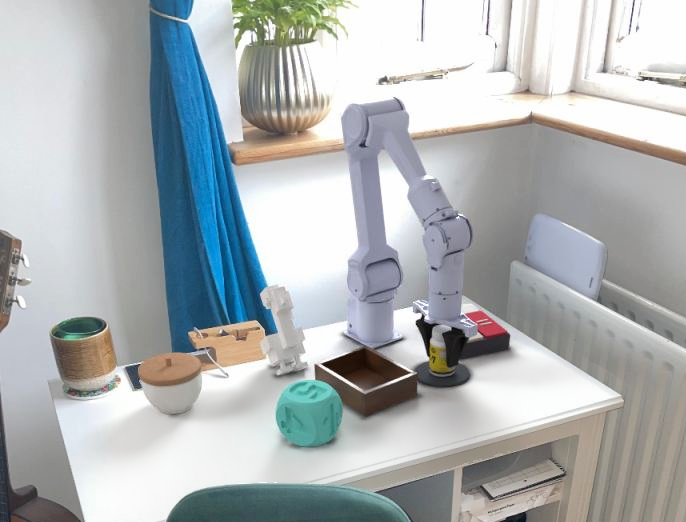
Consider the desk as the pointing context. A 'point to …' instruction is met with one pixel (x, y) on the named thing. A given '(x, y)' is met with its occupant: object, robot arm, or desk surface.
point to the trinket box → (171, 381)
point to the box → (367, 380)
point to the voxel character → (282, 331)
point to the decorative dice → (309, 413)
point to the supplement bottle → (439, 353)
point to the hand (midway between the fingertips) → (442, 360)
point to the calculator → (484, 334)
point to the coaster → (448, 381)
